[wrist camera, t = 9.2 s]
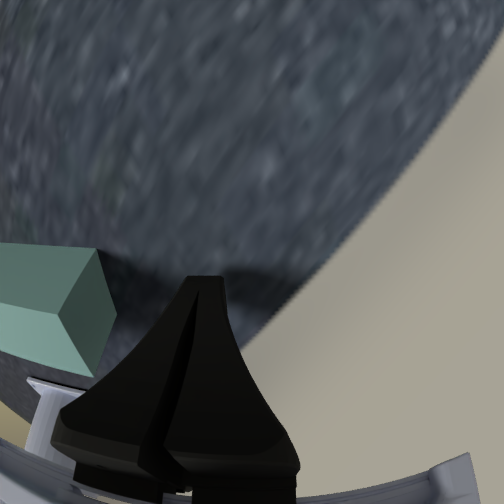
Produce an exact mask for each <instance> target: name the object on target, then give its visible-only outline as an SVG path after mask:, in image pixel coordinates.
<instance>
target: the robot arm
mask: <svg viewBox="0 0 504 504" xmlns="http://www.w3.org/2000/svg"><path fill="white" fill-rule="evenodd" d="M27 382H28V383H29V384H30V385H31V386H32V387H33V388H34V389H35V390H36V391H37V392H38V393H39V394H40V395H41V399H40V401H39V404H38V407H37V410H36V413H35V416H34V419H33V422H32V425H31V428H30V431H29V435H28V438H27V441H26V445H25V449H22V448H20V447H17V446H15V445H13V444H12V443H10V442H8V441H6V440H4V439H2V438H0V504H108V503H104V502H101V501H98V500H95V499H92V498H96V499H97V497H98V496H105V497H108V498H112V499H115V500H119V501H123V502H127V503H131V504H480V499H479V493H478V488H477V483H476V478H475V474H474V469H473V465H472V461H471V457H470V453H468V452H467V453H465V454H462V455H460V456H458V457H455V458H453V459H450V460H448V461H445V462H443V463H440V464H438V465H436V466H434V467H432V468H430V469H429V470H428V471H425V472H422V473H419V474H416V475H413V476H409V477H406V478H403V479H400V480H396V481H392V482H388V483H384V484H380V485H376V486H371V487H367V488H362V489H357V490H352V491H346V492H341V493H334V494H327V495H320V496H311V497H301V498H296V487H297V483H296V475H297V473H298V472H299V470H300V461H299V458H298V455H297V453H296V450H295V448H294V446H293V444H292V442H291V440H290V438H289V436H288V434H287V432H286V430H285V428H284V427H283V426H282V425H281V423H280V422H279V420H278V419H277V417H276V416H275V414H274V413H273V412H272V410H271V409H270V407H269V405H268V404H267V402H266V401H265V399H264V398H263V396H262V394H261V393H260V391H259V389H258V387H257V385H256V384H255V382H254V380H253V378H252V376H251V375H250V373H249V370H248V368H247V366H246V364H245V362H244V360H243V358H242V355H241V353H240V351H239V348H238V346H237V343H236V341H235V338H234V335H233V332H232V329H231V326H230V323H229V319H228V315H227V304H226V295H225V286H224V278H223V277H222V276H187V277H186V278H185V279H184V281H183V283H182V284H181V286H180V287H179V289H178V291H177V292H176V294H175V295H174V297H173V298H172V300H171V301H170V303H169V304H168V306H167V307H166V308H165V310H164V311H163V313H162V314H161V315H160V317H159V318H158V320H157V321H156V322H155V323H154V325H153V326H152V327H151V328H150V330H149V331H148V332H147V334H146V335H145V336H144V337H143V338H142V340H141V341H140V342H139V343H138V344H137V345H136V347H135V348H134V349H133V350H132V351H131V352H130V353H129V354H128V355H127V356H126V357H125V358H124V359H123V360H122V361H121V362H120V363H119V364H118V365H117V366H116V367H115V368H114V369H113V370H112V371H111V372H109V373H108V374H107V375H106V376H105V377H104V378H102V379H101V380H100V381H99V382H97V383H96V384H95V385H94V386H93V387H91V388H90V389H89V390H88V391H82V390H77V389H73V388H69V387H64V386H60V385H56V384H53V383H49V382H45V381H42V380H38V379H35V378H31V377H28V378H27ZM190 491H192V496H183V495H176V492H178V493H185V492H190ZM84 495H86V496H89V497H92V498H89V497H86V496H84Z"/></svg>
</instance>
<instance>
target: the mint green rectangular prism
mask: <svg viewBox="0 0 504 504" xmlns="http://www.w3.org/2000/svg"><path fill="white" fill-rule="evenodd" d="M116 316H117V313H116V310H115V307H114V304H113V301H112V298H111V295H110V292H109V289H108V286H107V283H106V280H105V276H104V273H103V270H102V266H101V263H100V260H99V256H98V252H97V249H96V248H79V247H62V246H46V245H29V244H13V243H0V350H1V351H3V352H6V353H9V354H12V355H15V356H18V357H21V358H24V359H27V360H30V361H33V362H36V363H40V364H43V365H47V366H50V367H54V368H57V369H61V370H65V371H69V372H73V373H77V374H81V375H85V376H89V377H94V376H95V373H96V370H97V367H98V364H99V361H100V359H101V356H102V353H103V350H104V347H105V345H106V342H107V339H108V337H109V334H110V331H111V329H112V326H113V324H114V321H115V318H116Z"/></svg>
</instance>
